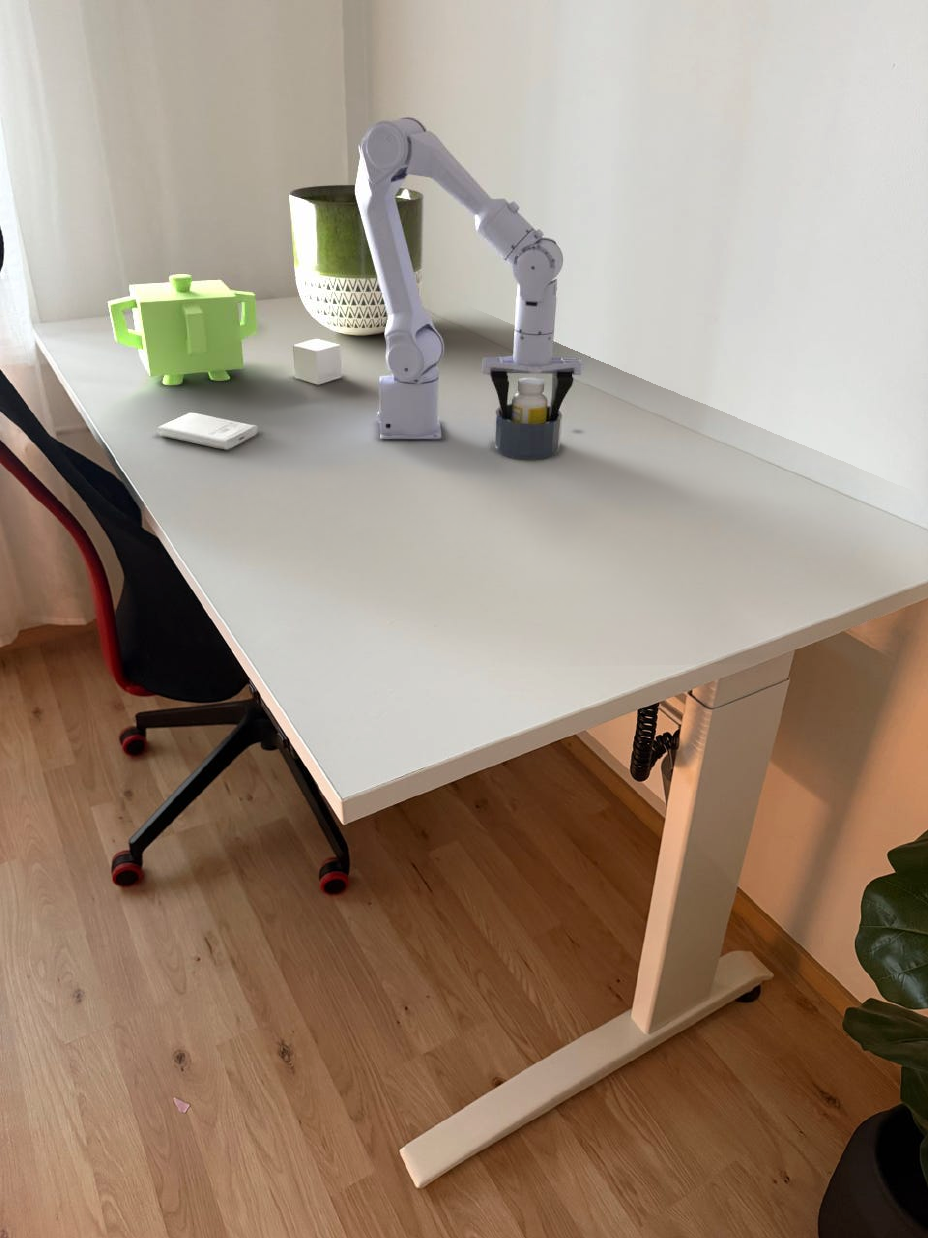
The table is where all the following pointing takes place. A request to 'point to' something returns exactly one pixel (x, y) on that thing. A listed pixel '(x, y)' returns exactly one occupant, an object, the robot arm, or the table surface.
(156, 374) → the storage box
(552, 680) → the table surface
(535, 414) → the supplement bottle
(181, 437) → the hard drive
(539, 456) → the dark grey hollow cylinder
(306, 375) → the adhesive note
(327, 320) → the planter
